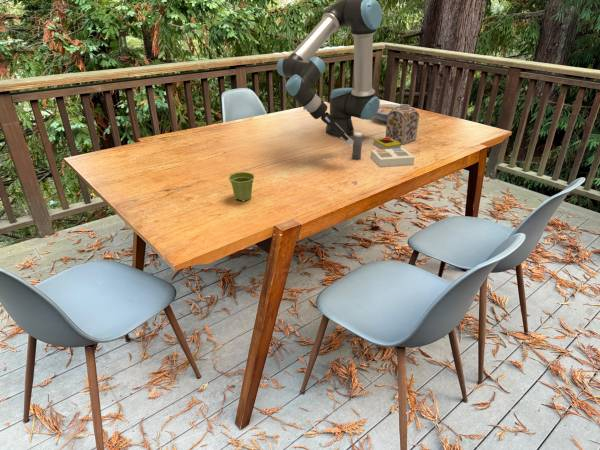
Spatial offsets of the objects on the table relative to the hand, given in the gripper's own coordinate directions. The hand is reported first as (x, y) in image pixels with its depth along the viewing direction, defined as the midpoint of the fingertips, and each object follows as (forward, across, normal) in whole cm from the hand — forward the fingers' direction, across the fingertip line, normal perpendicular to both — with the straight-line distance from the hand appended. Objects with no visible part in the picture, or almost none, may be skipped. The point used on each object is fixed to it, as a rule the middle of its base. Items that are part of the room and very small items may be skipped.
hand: (347, 139), depth 186 cm
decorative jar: (+33, -22, +19) cm, 44 cm away
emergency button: (+25, -13, +11) cm, 30 cm away
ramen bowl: (+37, -54, +24) cm, 70 cm away
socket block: (+21, +5, +8) cm, 23 cm away
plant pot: (-28, +31, -42) cm, 59 cm away
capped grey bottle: (+11, -1, -3) cm, 11 cm away
